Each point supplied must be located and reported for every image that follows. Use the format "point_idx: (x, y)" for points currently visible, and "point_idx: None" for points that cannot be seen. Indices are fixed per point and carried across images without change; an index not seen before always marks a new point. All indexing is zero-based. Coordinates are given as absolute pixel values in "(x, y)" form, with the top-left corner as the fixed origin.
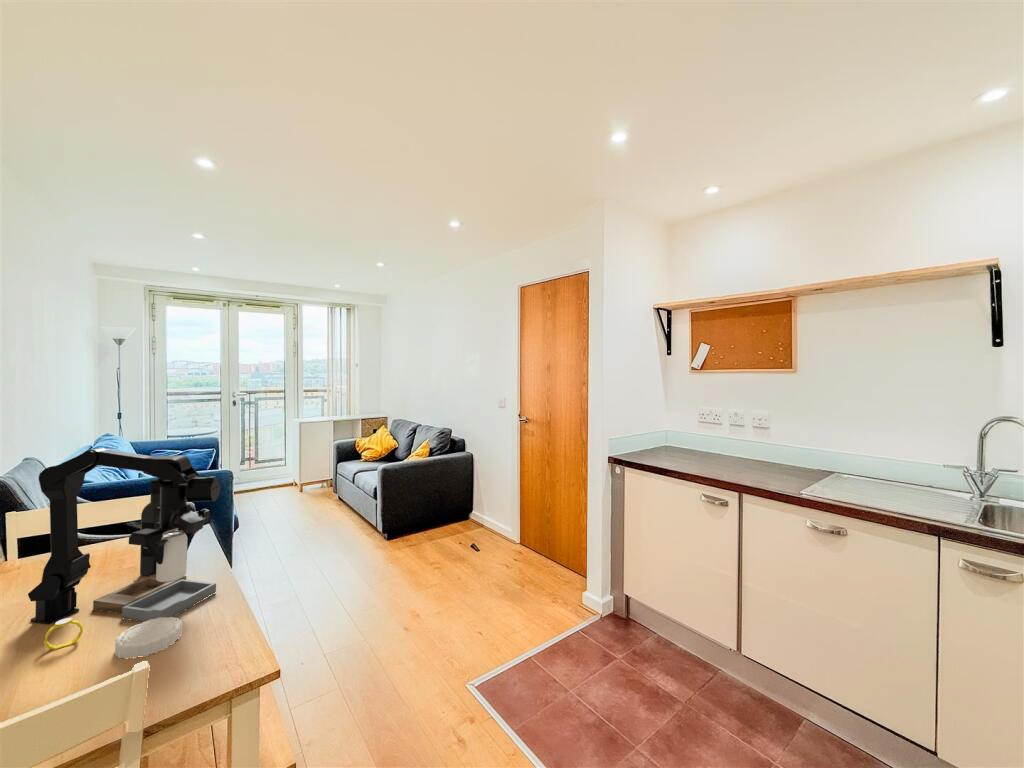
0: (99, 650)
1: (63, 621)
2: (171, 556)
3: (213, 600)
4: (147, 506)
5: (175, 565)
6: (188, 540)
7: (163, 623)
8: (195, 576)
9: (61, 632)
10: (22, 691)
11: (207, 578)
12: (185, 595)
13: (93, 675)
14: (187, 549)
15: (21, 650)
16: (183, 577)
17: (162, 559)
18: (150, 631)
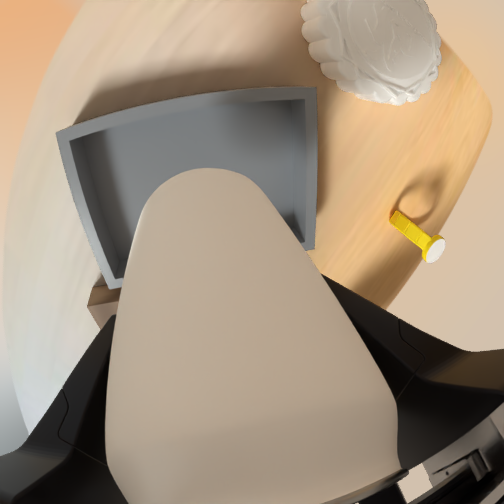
0: (409, 127)
1: (437, 249)
2: (308, 265)
3: (110, 76)
4: None
5: (251, 205)
6: (86, 408)
7: (365, 14)
8: (61, 310)
9: (360, 281)
10: (479, 137)
11: (41, 270)
12: (136, 198)
13: (453, 60)
14: (99, 337)
15: (406, 269)
16: (96, 304)
17: (333, 290)
18: (404, 19)
